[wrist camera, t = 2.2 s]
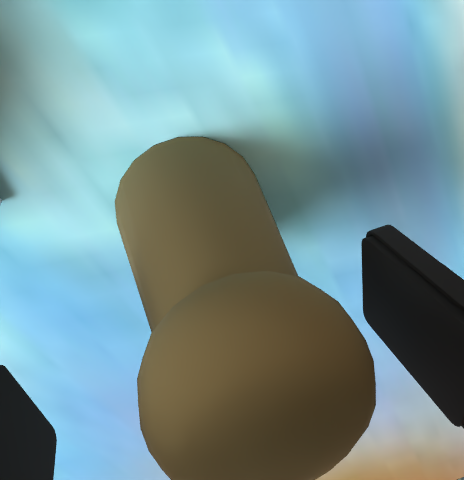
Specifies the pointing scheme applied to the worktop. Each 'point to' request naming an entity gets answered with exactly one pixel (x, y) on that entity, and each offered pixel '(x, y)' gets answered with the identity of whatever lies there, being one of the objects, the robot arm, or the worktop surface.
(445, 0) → the worktop surface
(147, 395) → the cork
